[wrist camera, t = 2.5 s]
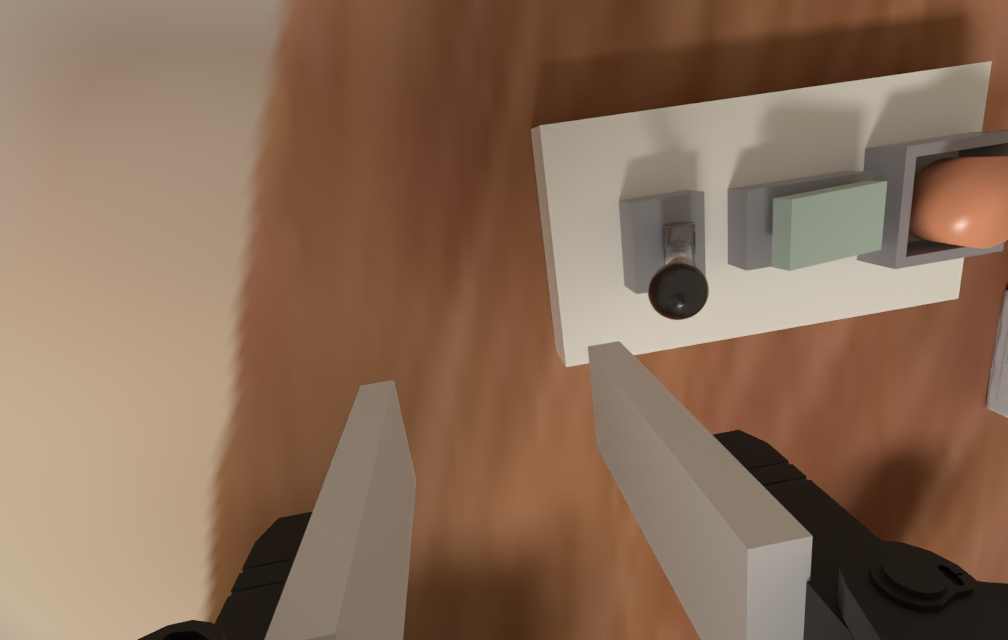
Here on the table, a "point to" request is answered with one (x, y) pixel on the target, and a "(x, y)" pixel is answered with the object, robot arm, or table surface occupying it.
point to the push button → (961, 202)
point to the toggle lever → (678, 275)
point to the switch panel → (710, 169)
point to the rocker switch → (827, 224)
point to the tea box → (1000, 366)
